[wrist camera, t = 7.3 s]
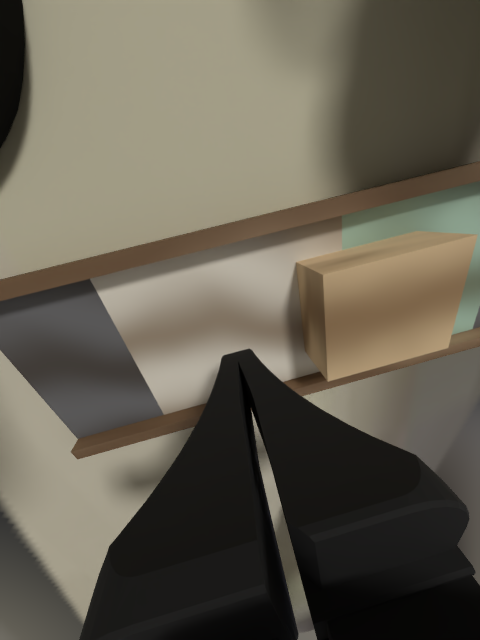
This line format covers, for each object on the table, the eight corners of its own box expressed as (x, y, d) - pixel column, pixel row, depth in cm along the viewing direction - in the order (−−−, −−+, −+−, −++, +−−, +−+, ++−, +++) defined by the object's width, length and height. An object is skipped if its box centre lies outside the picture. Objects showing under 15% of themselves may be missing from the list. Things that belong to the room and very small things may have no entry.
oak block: (403, 324, 15) (448, 347, 12) (304, 351, 14) (327, 381, 12) (416, 230, 12) (477, 234, 9) (295, 262, 12) (323, 274, 9)
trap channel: (525, 320, 17) (547, 327, 16) (86, 442, 15) (77, 459, 14) (606, 129, 11) (648, 120, 10) (-43, 290, 10) (-73, 298, 9)
